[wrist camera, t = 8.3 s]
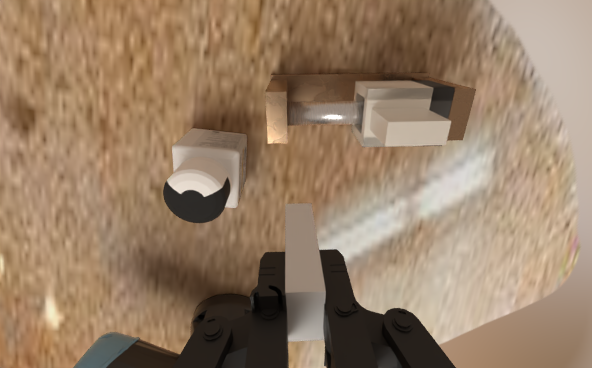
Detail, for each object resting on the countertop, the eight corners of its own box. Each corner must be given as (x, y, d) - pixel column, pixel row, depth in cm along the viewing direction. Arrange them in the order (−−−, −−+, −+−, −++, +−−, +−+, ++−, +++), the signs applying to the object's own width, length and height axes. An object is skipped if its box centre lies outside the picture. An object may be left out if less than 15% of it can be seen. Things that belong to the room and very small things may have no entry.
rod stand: (273, 121, 39) (268, 147, 29) (271, 74, 36) (264, 86, 26) (418, 118, 39) (461, 144, 29) (426, 72, 37) (477, 83, 27)
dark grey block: (402, 130, 34) (421, 146, 29) (410, 80, 31) (433, 87, 26) (418, 130, 34) (441, 145, 29) (428, 80, 31) (455, 87, 26)
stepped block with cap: (351, 131, 33) (376, 166, 24) (355, 81, 31) (384, 98, 21) (402, 130, 34) (446, 165, 24) (410, 80, 31) (463, 97, 22)
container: (245, 182, 43) (229, 234, 31) (193, 177, 42) (157, 228, 31) (247, 133, 40) (230, 171, 28) (191, 127, 39) (150, 163, 27)
